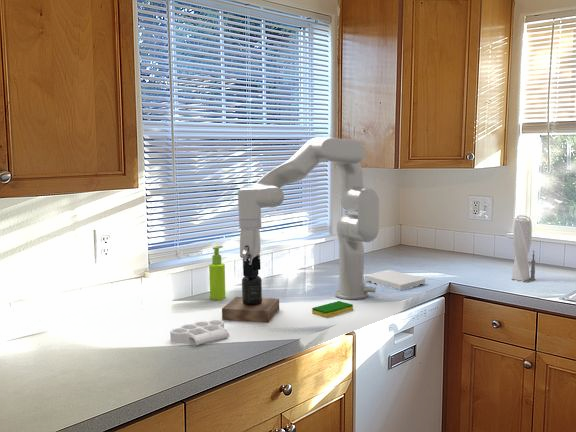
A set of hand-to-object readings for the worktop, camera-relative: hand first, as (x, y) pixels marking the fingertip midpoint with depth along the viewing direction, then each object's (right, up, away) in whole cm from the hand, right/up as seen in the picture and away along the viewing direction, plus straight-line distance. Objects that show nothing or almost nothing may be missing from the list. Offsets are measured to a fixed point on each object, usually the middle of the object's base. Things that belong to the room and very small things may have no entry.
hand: (252, 272), depth 207 cm
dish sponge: (+28, -15, +4) cm, 32 cm away
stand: (0, -15, +1) cm, 15 cm away
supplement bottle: (0, -11, +1) cm, 11 cm away
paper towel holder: (+112, -8, +49) cm, 122 cm away
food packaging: (+57, -9, +46) cm, 74 cm away
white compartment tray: (-15, -18, -21) cm, 32 cm away
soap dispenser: (-15, -12, +25) cm, 31 cm away
